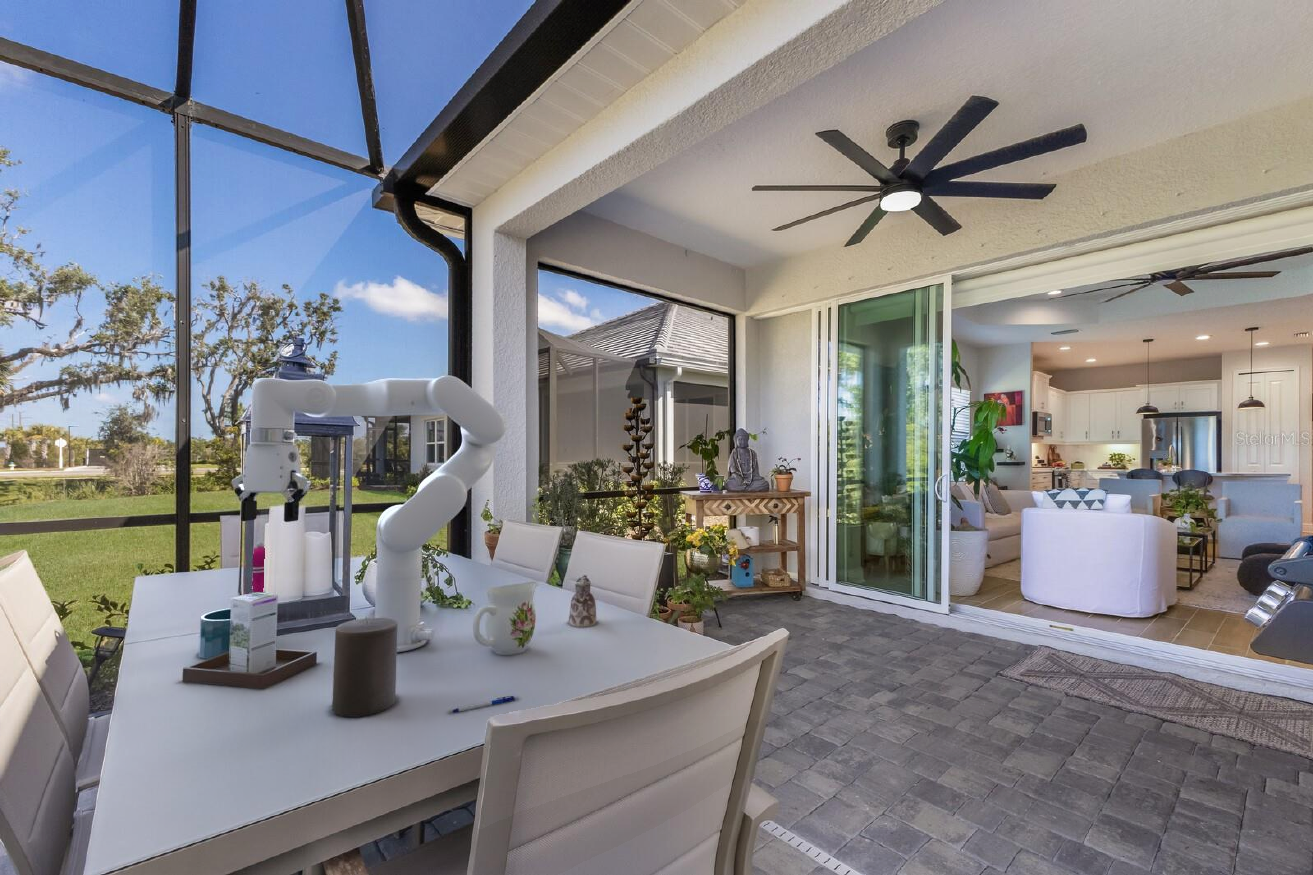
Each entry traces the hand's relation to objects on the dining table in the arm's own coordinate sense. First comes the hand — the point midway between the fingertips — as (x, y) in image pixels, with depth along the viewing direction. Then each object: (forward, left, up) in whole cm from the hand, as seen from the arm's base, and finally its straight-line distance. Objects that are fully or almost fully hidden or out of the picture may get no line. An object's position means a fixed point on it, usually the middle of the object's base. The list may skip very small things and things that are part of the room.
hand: (269, 520), depth 118 cm
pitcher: (-45, -17, -29) cm, 56 cm away
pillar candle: (-33, +14, -29) cm, 46 cm away
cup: (+13, -5, -29) cm, 32 cm away
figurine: (-55, -42, -29) cm, 75 cm away
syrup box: (-2, +5, -29) cm, 29 cm away
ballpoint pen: (-53, +10, -30) cm, 62 cm away
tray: (-2, +5, -29) cm, 30 cm away
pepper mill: (+29, -28, -29) cm, 50 cm away
